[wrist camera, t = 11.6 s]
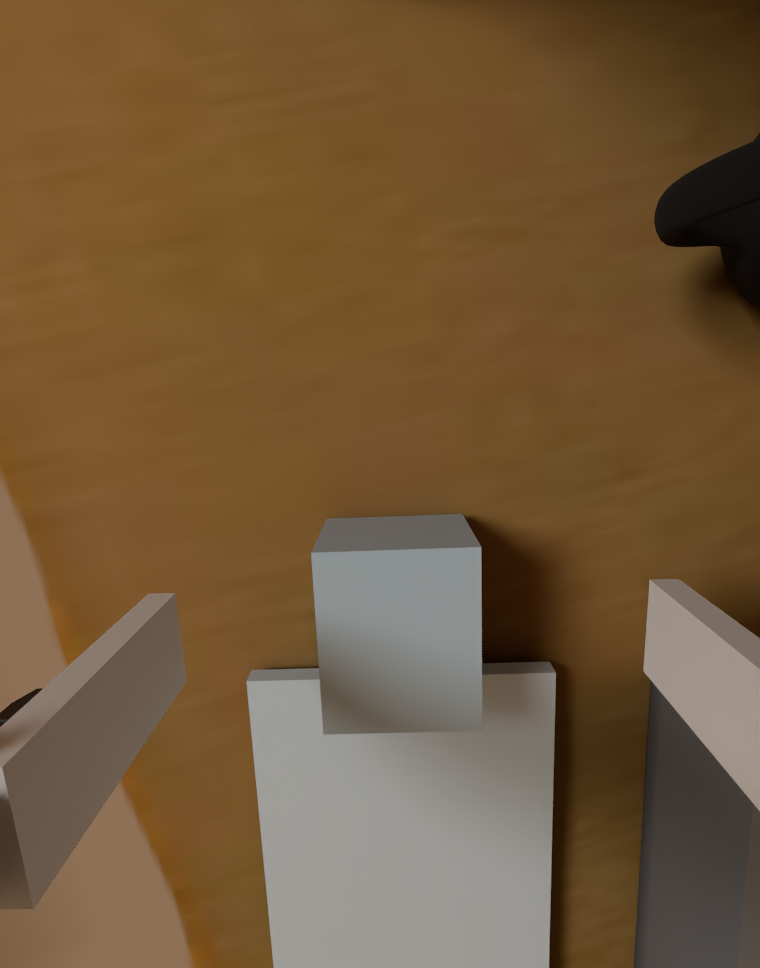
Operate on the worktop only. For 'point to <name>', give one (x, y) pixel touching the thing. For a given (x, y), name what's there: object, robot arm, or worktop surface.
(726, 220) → the mug
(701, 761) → the tub
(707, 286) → the worktop surface
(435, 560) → the lid
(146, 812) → the worktop surface
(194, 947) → the worktop surface
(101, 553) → the worktop surface
